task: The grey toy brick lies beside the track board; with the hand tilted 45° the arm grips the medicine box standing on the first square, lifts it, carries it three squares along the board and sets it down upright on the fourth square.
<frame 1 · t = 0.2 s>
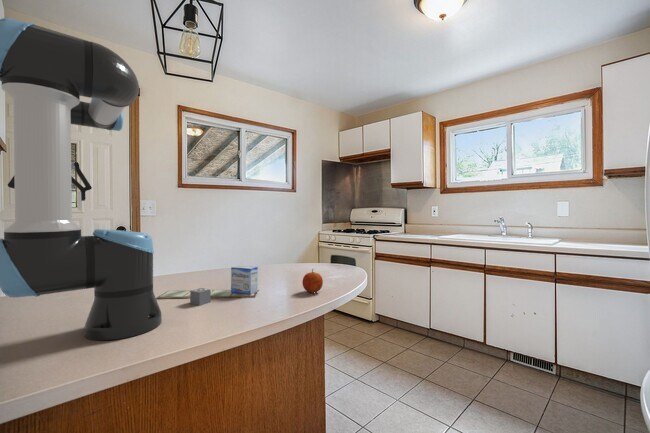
hand: (53, 210, 99), 28 cm above the countertop, tool pointing down, fingers open, 13 cm apart
grey toy brick: (200, 303, 91), on the countertop
track board: (210, 294, 100), on the countertop
fruit: (312, 293, 103), on the countertop
medicine box: (244, 293, 101), resting on track board
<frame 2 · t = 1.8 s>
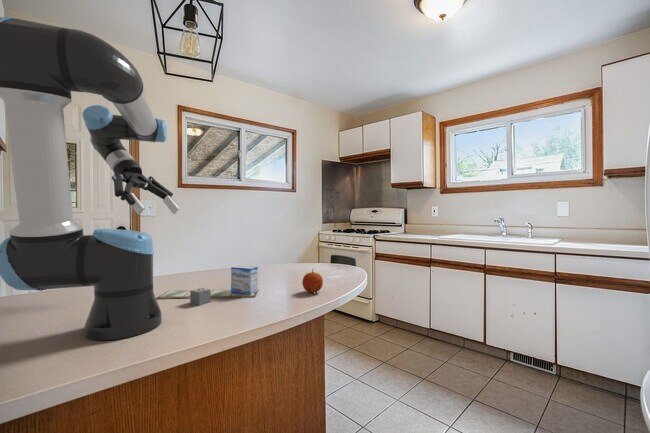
hand: (160, 211, 97), 28 cm above the countertop, tool tilted 45°, fingers open, 13 cm apart
nothing on the countertop moved.
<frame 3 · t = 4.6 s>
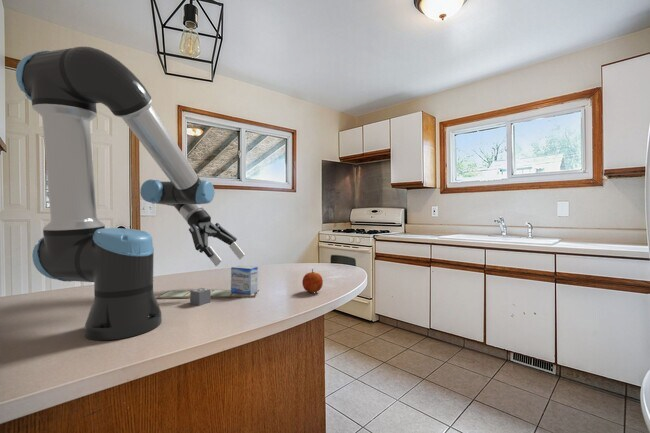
hand: (231, 260, 104), 11 cm above the countertop, tool tilted 45°, fingers open, 13 cm apart
nothing on the countertop moved.
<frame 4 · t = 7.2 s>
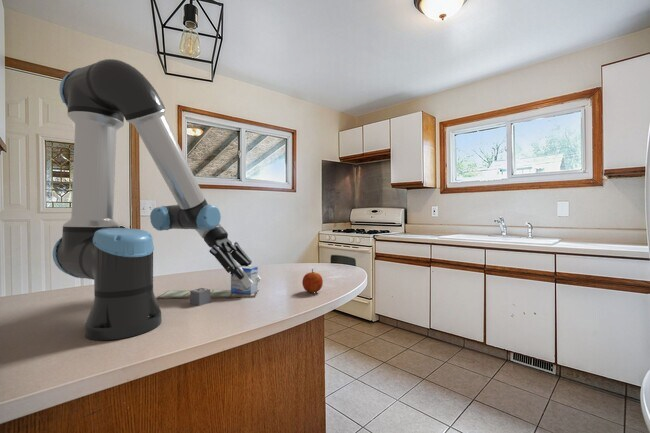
hand: (254, 283, 100), 4 cm above the countertop, tool tilted 45°, fingers closed on medicine box, 4 cm apart
medicine box: (244, 293, 101), resting on track board, touching gripper
everything else where it was.
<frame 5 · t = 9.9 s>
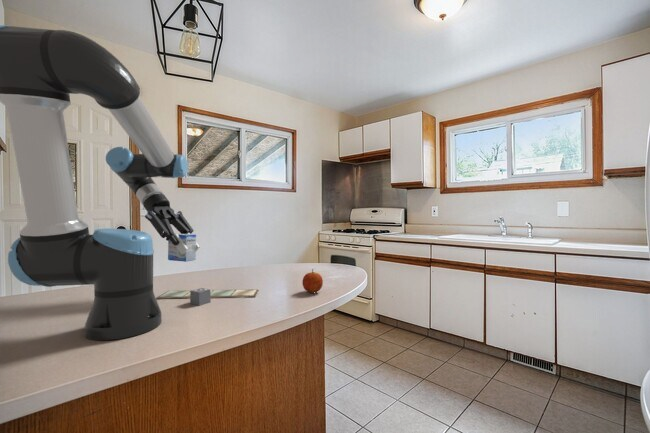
hand: (191, 250, 98), 15 cm above the countertop, tool tilted 45°, fingers closed on medicine box, 4 cm apart
medicine box: (182, 260, 100), point 11 cm above the countertop, touching gripper
everything else where it was.
when the fingers open (5 cm above the countertop, at t = 12.8 s): medicine box drops 1 cm, resting on track board.
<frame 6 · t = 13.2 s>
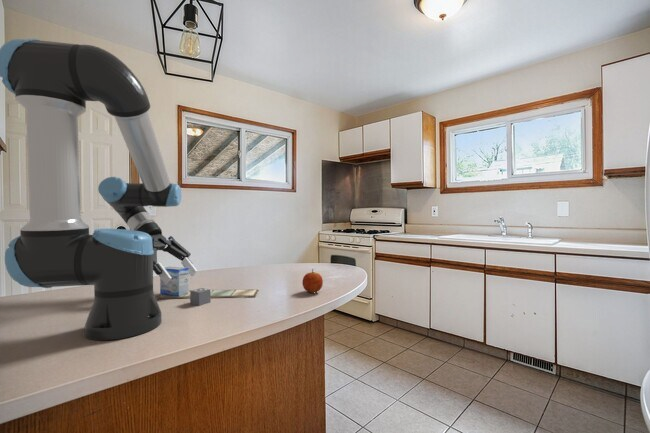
hand: (182, 277, 98), 6 cm above the countertop, tool tilted 45°, fingers open, 10 cm apart
medicine box: (174, 294, 99), resting on track board
everything else where it was.
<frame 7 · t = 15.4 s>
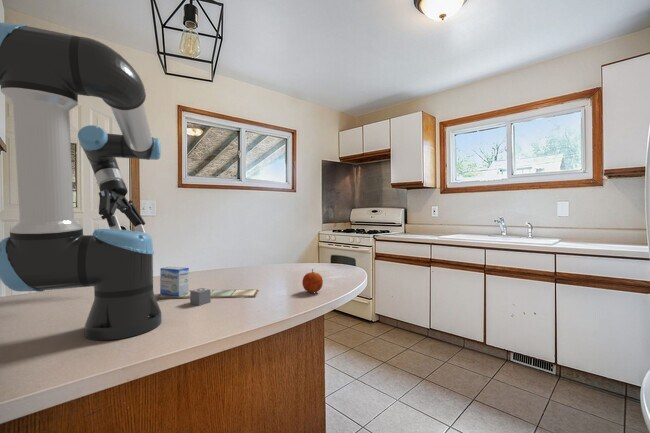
hand: (131, 239, 99), 18 cm above the countertop, tool tilted 30°, fingers open, 13 cm apart
nothing on the countertop moved.
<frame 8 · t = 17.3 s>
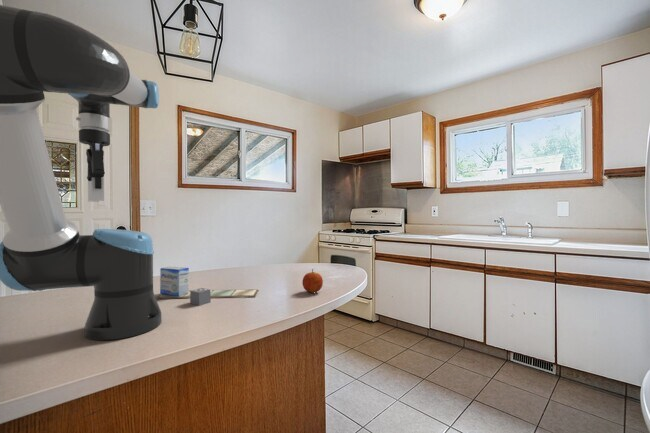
hand: (95, 201, 91), 31 cm above the countertop, tool pointing down, fingers open, 13 cm apart
nothing on the countertop moved.
at the end: medicine box inside the target area (0.2 cm from its centre), resting on track board; medicine box tilted 0°; the gripper is holding nothing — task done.
